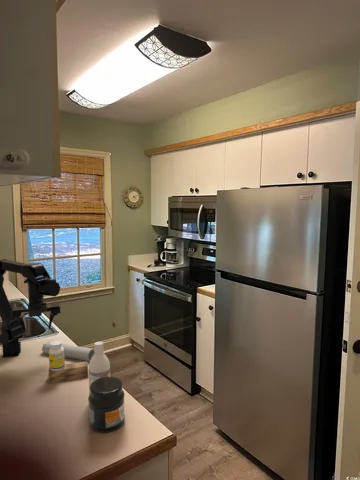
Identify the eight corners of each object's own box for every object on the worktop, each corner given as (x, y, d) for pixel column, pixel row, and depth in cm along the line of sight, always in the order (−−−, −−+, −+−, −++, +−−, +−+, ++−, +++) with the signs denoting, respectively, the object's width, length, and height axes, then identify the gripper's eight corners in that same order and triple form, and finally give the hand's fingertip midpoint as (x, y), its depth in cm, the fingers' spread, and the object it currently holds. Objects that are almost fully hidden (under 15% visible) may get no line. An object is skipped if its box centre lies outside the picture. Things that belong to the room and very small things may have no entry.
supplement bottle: (48, 366, 126) (47, 341, 125) (62, 363, 128) (61, 338, 127) (51, 372, 121) (50, 347, 120) (66, 368, 124) (65, 343, 123)
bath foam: (109, 406, 107) (107, 347, 105) (87, 407, 107) (85, 347, 105) (112, 394, 114) (111, 338, 112) (92, 395, 114) (90, 339, 112)
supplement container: (131, 424, 98) (130, 386, 97) (97, 439, 92) (95, 398, 91) (116, 407, 107) (115, 372, 106) (84, 419, 101) (82, 382, 100)
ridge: (48, 383, 121) (48, 372, 121) (49, 375, 127) (49, 365, 127) (88, 377, 126) (88, 367, 125) (87, 369, 131) (87, 360, 131)
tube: (38, 346, 144) (86, 354, 136) (46, 338, 149) (93, 345, 140) (41, 356, 146) (89, 364, 138) (49, 347, 151) (96, 355, 142)
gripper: (7, 301, 126) (9, 340, 128) (59, 297, 132) (60, 334, 133) (12, 293, 137) (14, 330, 138) (60, 290, 142) (61, 325, 144)
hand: (37, 330), depth 138 cm, fingers open, 9 cm apart
